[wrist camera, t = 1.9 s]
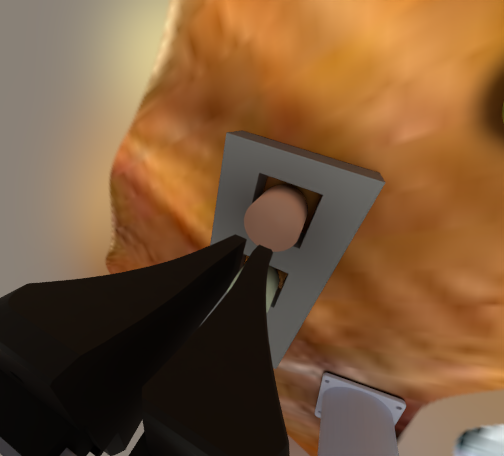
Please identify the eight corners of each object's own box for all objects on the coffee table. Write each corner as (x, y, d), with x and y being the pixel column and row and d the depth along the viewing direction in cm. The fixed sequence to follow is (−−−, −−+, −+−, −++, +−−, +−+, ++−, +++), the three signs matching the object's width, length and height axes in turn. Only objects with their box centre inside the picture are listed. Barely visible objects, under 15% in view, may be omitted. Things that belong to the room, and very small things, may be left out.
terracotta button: (298, 238, 16) (289, 260, 14) (254, 220, 17) (239, 238, 14) (315, 195, 14) (309, 211, 12) (266, 177, 15) (250, 189, 12)
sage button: (273, 297, 20) (262, 323, 17) (238, 281, 20) (224, 304, 18) (284, 270, 18) (274, 294, 15) (246, 253, 19) (230, 274, 16)
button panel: (281, 348, 25) (275, 369, 23) (209, 310, 27) (198, 326, 25) (379, 172, 14) (385, 182, 12) (242, 130, 16) (226, 132, 14)
